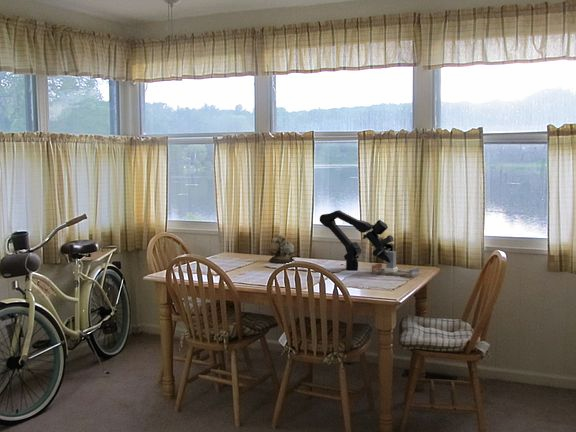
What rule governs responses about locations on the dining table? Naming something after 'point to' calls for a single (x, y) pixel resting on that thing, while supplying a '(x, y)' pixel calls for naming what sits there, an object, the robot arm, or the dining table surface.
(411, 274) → the track
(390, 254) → the carriage
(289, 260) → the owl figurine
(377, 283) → the dining table surface
